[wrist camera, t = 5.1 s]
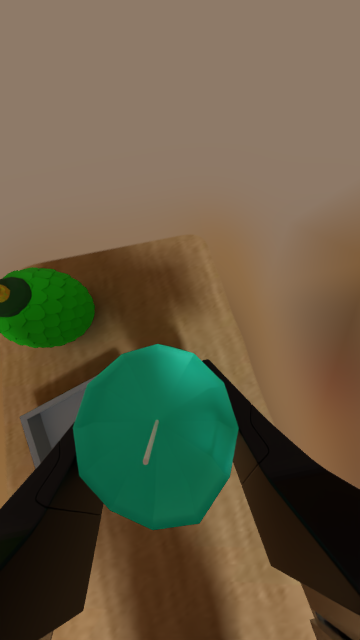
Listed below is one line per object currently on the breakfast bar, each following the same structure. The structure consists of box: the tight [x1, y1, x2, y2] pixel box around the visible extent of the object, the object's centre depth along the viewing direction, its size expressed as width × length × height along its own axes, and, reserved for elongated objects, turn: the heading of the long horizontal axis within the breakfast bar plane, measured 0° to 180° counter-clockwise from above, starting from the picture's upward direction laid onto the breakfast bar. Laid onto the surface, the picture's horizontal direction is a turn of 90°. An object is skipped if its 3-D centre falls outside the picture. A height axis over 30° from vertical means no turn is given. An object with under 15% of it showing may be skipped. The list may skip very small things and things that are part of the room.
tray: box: [20, 376, 96, 469], centre depth 16 cm, size 11×11×2 cm
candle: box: [73, 344, 239, 530], centre depth 10 cm, size 6×6×12 cm
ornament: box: [0, 268, 95, 348], centre depth 14 cm, size 8×8×10 cm
